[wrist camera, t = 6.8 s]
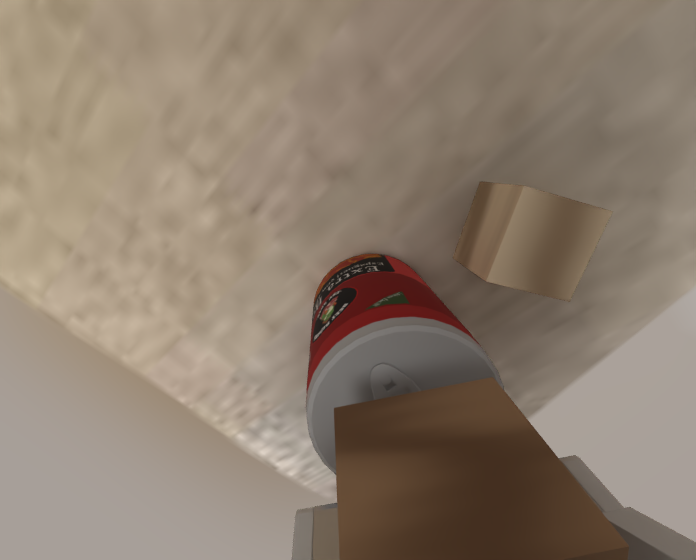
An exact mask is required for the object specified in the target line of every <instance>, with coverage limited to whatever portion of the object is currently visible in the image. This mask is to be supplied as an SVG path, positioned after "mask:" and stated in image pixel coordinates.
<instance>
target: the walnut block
mask: <svg viewBox="0 0 696 560" xmlns="http://www.w3.org/2000/svg"><path fill="white" fill-rule="evenodd" d="M334 428H335V454H336V480H337V505H338V531H339V556H340V560H628V552H629V546H628V544H627V543H626V542H625V541H624V539H623V538H622V537H621V536H620V534H619V533H618V532H617V531H616V529H615V528H614V527H613V526H612V524H611V523H610V522H609V521H608V519H607V518H606V517H605V516H604V514H603V513H602V512H601V511H600V509H599V508H598V507H597V506H596V504H595V503H594V502H593V501H592V499H591V498H590V497H589V496H588V495H587V493H586V492H585V491H584V490H583V488H582V487H581V486H580V485H579V483H578V482H577V481H576V480H575V478H574V477H573V476H572V475H571V473H570V472H569V471H568V470H567V468H566V467H565V466H564V465H563V463H562V462H561V461H560V460H559V458H558V457H557V456H556V455H555V453H554V452H553V451H552V450H551V448H550V447H549V446H548V445H547V444H546V442H545V441H544V440H543V438H542V437H541V436H540V435H539V434H538V432H537V431H536V430H535V429H534V427H533V426H532V425H531V424H530V422H529V421H528V420H527V419H526V417H525V416H524V415H523V414H522V412H521V411H520V410H519V409H518V407H517V406H516V405H515V404H514V402H513V401H512V400H511V399H510V397H509V396H508V395H507V394H506V392H505V391H504V390H503V389H502V387H501V386H500V385H499V384H498V382H497V381H496V380H495V379H494V378H493V377H491V378H485V379H480V380H475V381H470V382H465V383H460V384H454V385H449V386H444V387H439V388H434V389H429V390H423V391H418V392H413V393H408V394H403V395H398V396H392V397H387V398H382V399H377V400H372V401H366V402H361V403H356V404H351V405H346V406H341V407H335V408H334Z"/></svg>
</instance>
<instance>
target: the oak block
mask: <svg viewBox="0 0 696 560" xmlns="http://www.w3.org/2000/svg"><path fill="white" fill-rule="evenodd" d="M612 213H613V211H609V210H606V209H602V208H599V207H596V206H592V205H589V204H585V203H582V202H578V201H575V200H572V199H568V198H565V197H561V196H558V195H554V194H551V193H547V192H544V191H541V190H537V189H534V188H530V187H527V186H522V185H511V184H500V183H489V182H480V183H479V186H478V189H477V192H476V194H475V197H474V200H473V203H472V206H471V208H470V211H469V214H468V217H467V219H466V222H465V225H464V228H463V231H462V233H461V236H460V239H459V242H458V244H457V247H456V250H455V253H454V255H453V259H455V260H456V261H457V262H459V263H460V264H462V265H463V266H465V267H466V268H467V269H469V270H470V271H472V272H473V273H475V274H476V275H477V276H479V277H480V278H482V279H483V280H485V281H486V282H490V283H494V284H498V285H502V286H506V287H511V288H515V289H519V290H523V291H527V292H531V293H535V294H539V295H544V296H548V297H552V298H556V299H560V300H564V301H568V302H570V300H571V298H572V296H573V294H574V292H575V290H576V288H577V285H578V283H579V281H580V279H581V277H582V275H583V273H584V271H585V269H586V267H587V265H588V263H589V261H590V258H591V256H592V254H593V252H594V250H595V248H596V246H597V244H598V242H599V240H600V238H601V236H602V233H603V231H604V229H605V227H606V225H607V223H608V221H609V219H610V217H611V215H612Z"/></svg>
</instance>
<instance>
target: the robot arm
mask: <svg viewBox="0 0 696 560" xmlns="http://www.w3.org/2000/svg"><path fill="white" fill-rule="evenodd" d="M559 460H560V461H561V462H562V463H563V465H564V466H565V467H566V468H567V470H568V471H569V472H570V473H571V475H572V476H573V477H574V478H575V480H576V481H577V482H578V483H579V485H580V486H581V487H582V488H583V490H584V491H585V492H586V493H587V495H588V496H589V497H590V498H591V499H592V501H593V502H594V503H595V504H596V506H597V507H598V508H599V509H600V511H601V512H602V513H603V514H604V516H605V517H606V518H607V519H608V521H609V522H610V523H611V524H612V526H613V527H614V528H615V529H616V531H617V532H618V533H619V534H620V536H621V537H622V538H623V539H624V541H625V542H626V543H627V544H628V546H629V552H628V560H696V542H694V541H692V540H690V539H688V538H687V537H685V536H683V535H681V534H679V533H677V532H675V531H674V530H672V529H670V528H668V527H666V526H664V525H662V524H660V523H659V522H657V521H655V520H653V519H651V518H649V517H648V516H646V515H644V514H642V513H640V512H638V511H636V510H634V509H633V508H631V507H627V508H624V507H623V506H622V505H621V504H620V503H619V502H618V500H617V499H616V498H615V497H614V496H613V495H612V494H611V493H610V492H609V490H608V489H607V488H606V487H605V486H604V485H603V484H602V482H601V481H600V480H599V479H598V478H597V477H596V476H595V475H594V474H593V472H592V471H591V470H590V469H589V468H588V467H587V466H586V465H585V463H584V462H583V461H582V460H581V459H580V458H579V457H577V456H576V455H573V456H568V457H563V458H559ZM292 560H340V556H339V531H338V505H337V503H334V504H327V505H321V506H315V507H310V508H305V509H300V510H297V512H296V516H295V526H294V538H293V549H292Z"/></svg>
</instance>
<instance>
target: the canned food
mask: <svg viewBox="0 0 696 560" xmlns="http://www.w3.org/2000/svg"><path fill="white" fill-rule="evenodd" d="M491 377H493V378H494V379H495V380H496V381H497V382H498V384H499V385H500V386H501V387H502V389H503V390H504V386H503V384H502V381H501V379H500V376H499V373H498V371H497V369H496V368H495V366H494V365H493V363H492V361H491V360H490V358H489V357H488V355H487V354H486V352H485V351H484V350H483V348H482V347H481V346H480V345H479V343H478V342H477V341H476V340H475V339H474V338H473V336H472V335H471V334H470V332H469V331H468V330H467V329H466V328H465V327H464V326H463V325H462V323H461V322H460V321H459V320H458V319H457V318H456V317H455V316H454V315H453V313H452V312H451V311H450V310H449V309H448V308H447V307H446V306H445V305H444V303H443V302H442V301H441V300H440V299H439V298H438V297H437V296H436V294H435V293H434V292H433V291H432V290H431V289H430V288H429V287H428V286H427V284H426V283H425V282H424V281H423V280H422V279H421V278H420V277H419V276H418V274H417V273H416V272H414V271H413V270H412V269H411V268H410V267H409V266H408V265H406V264H405V263H403V262H401V261H400V260H398V259H395V258H392V257H389V256H386V255H379V254H364V255H359V256H355V257H351V258H349V259H347V260H345V261H343V262H341V263H339V264H338V265H337V266H335V267H334V268H333V269H331V270H330V272H329V273H328V274H327V275H326V276H325V277H324V278H323V280H322V282H321V284H320V285H319V287H318V289H317V292H316V295H315V299H314V307H313V318H312V331H311V343H310V355H309V367H308V379H307V398H306V412H307V422H308V430H309V435H310V438H311V441H312V443H313V446H314V448H315V450H316V452H317V453H318V455H319V456H320V458H321V459H322V461H323V462H324V464H325V465H326V466H327V467H328V468H329V469H330V470H331V471H333V472H334V473H335V474H336V454H335V428H334V408H335V407H341V406H346V405H351V404H356V403H361V402H366V401H372V400H377V399H382V398H387V397H392V396H398V395H403V394H408V393H413V392H418V391H423V390H429V389H434V388H439V387H444V386H449V385H454V384H460V383H465V382H470V381H475V380H480V379H485V378H491Z"/></svg>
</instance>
